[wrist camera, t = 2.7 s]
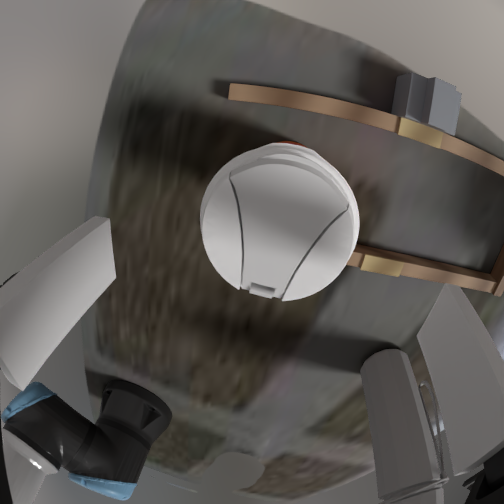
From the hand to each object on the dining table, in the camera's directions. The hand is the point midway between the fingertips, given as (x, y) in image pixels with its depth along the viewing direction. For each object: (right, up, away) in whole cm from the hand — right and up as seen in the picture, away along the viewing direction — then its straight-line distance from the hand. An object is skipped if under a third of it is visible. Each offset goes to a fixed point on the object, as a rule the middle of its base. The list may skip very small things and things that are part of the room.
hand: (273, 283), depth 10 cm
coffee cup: (+3, +9, +17) cm, 19 cm away
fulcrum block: (+15, +15, +11) cm, 24 cm away
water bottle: (+18, -14, +25) cm, 34 cm away
